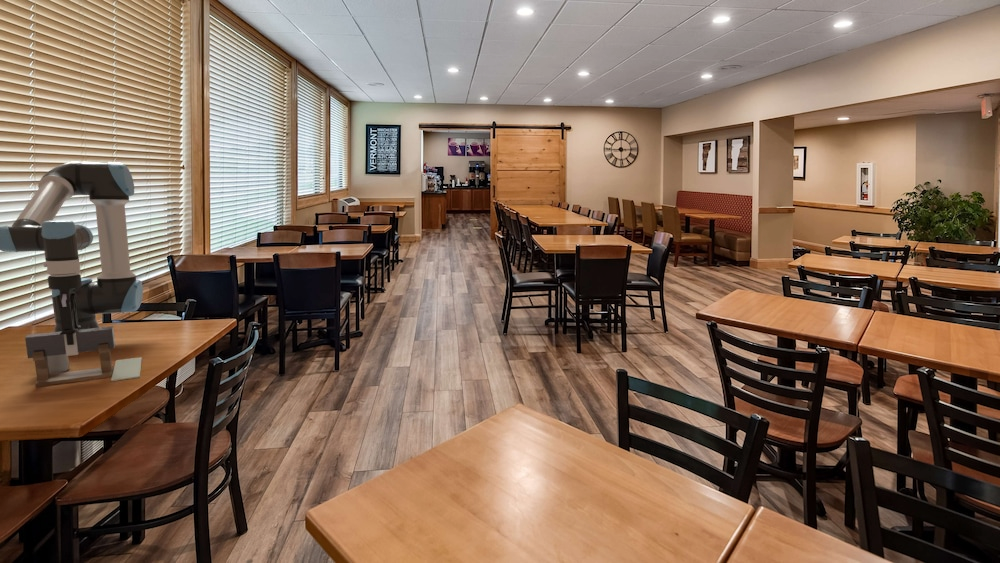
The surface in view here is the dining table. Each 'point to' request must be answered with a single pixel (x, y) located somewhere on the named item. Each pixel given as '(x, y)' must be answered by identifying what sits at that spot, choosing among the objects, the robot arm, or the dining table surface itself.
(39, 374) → the stand
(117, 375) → the mat
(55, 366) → the cup
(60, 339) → the rail
